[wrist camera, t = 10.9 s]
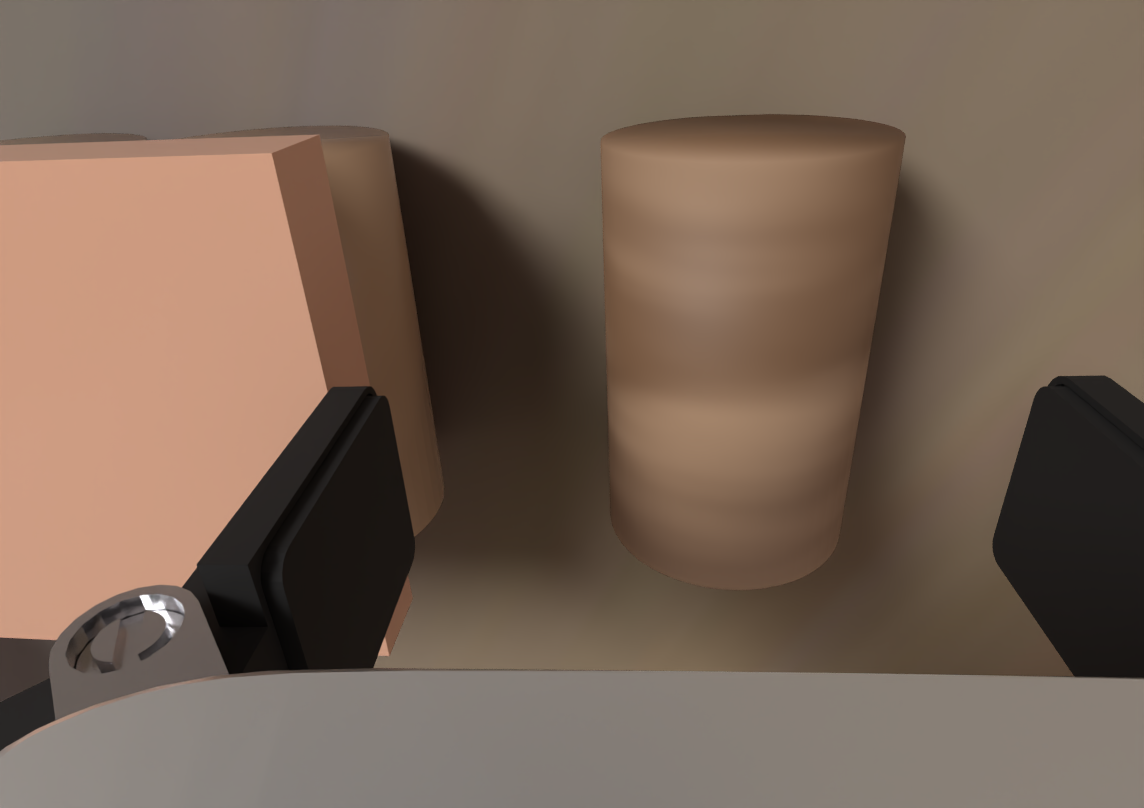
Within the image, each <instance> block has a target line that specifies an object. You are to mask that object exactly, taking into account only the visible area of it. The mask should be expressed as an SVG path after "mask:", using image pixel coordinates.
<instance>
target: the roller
mask: <svg viewBox="0 0 1144 808" xmlns="http://www.w3.org/2000/svg"><path fill="white" fill-rule="evenodd" d="M905 138H906V136H905V133H904V132H902V131H901V130H899V129H897V128H895V127H892V126H889V125H885V124H881V123H876V122H871V121H865V120H858V119H850V118H840V117H828V116H812V115H780V114H764V115H736V116H708V117H692V118H681V119H671V120H663V121H656V122H649V123H644V124H638V125H633V126H629V127H625V128H621V129H618V130H615V131H612V132H610V133H608V134H606V135H604V136H603V137H602V138H601V176H602V213H603V251H604V289H605V327H606V365H607V403H608V441H609V479H610V516H611V521H612V526H613V528H614V531H615V533H616V535H617V536H618V538H619V540H620V541H621V543H622V544H623V545H624V546H625V547H626V548H627V550H628V551H629V552H630V553H631V554H633V555H634V556H635V557H636V558H637V559H638V560H640V561H641V562H643V563H644V564H646V565H647V566H649V567H650V568H652V569H654V570H656V571H658V572H660V573H662V574H664V575H666V576H669V577H671V578H674V579H677V580H679V581H683V582H686V583H690V584H693V585H697V586H703V587H708V588H715V589H725V590H753V589H763V588H769V587H774V586H779V585H783V584H786V583H789V582H793V581H795V580H797V579H800V578H802V577H804V576H806V575H808V574H810V573H811V572H813V571H814V570H816V569H818V568H819V567H820V566H821V565H822V564H823V563H825V562H826V561H827V559H828V558H829V557H830V556H831V555H832V553H833V552H834V550H835V548H836V546H837V544H838V540H839V536H840V531H841V525H842V519H843V513H844V507H845V501H846V495H847V488H848V482H849V476H850V470H851V464H852V458H853V452H854V446H855V440H856V434H857V428H858V422H859V416H860V410H861V404H862V398H863V392H864V386H865V380H866V374H867V368H868V362H869V356H870V350H871V344H872V337H873V331H874V325H875V319H876V313H877V307H878V301H879V295H880V289H881V283H882V277H883V271H884V265H885V259H886V253H887V247H888V241H889V235H890V229H891V223H892V217H893V211H894V205H895V199H896V193H897V187H898V180H899V174H900V168H901V162H902V156H903V150H904V144H905Z"/></svg>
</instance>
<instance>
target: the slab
mask: <svg viewBox="0 0 1144 808" xmlns="http://www.w3.org/2000/svg"><path fill="white" fill-rule="evenodd" d="M353 386H371V387H372V388H374V390H375V392H376V394H377V396H384V395H385V396H386V397H387V399H388V401H389V405H390V410H391V415H392V421H393V426H394V431H395V437H396V442H397V447H398V453H399V458H400V463H401V469H402V474H403V479H404V485H405V490H406V496H407V501H408V506H409V512H410V517H411V522H412V528H413V533H414V537H415V536H416V535H417V534H418V533H420V532H421V531H422V530H423V529H424V528H425V527H426V526H427V525H428V524H429V523H430V522H431V520H432V519H433V518H434V516H435V515H436V513H437V512H438V510H439V508H440V506H441V504H442V500H443V497H444V481H443V475H442V468H441V462H440V456H439V449H438V443H437V437H436V430H435V424H434V418H433V411H432V405H431V399H430V392H429V386H428V380H427V373H426V367H425V361H424V354H423V348H422V342H421V335H420V329H419V323H418V316H417V310H416V304H415V297H414V291H413V285H412V278H411V272H410V266H409V259H408V253H407V247H406V240H405V234H404V228H403V221H402V215H401V209H400V202H399V196H398V190H397V183H396V177H395V171H394V164H393V158H392V152H391V145H390V139H389V134H388V133H387V132H385V131H383V130H379V129H375V128H368V127H357V126H299V127H280V128H266V129H254V130H243V131H234V132H224V133H216V134H208V135H201V136H193V137H187V138H180V139H172V140H147V138H146V137H144V136H140V135H134V134H118V133H99V134H73V135H57V136H43V137H32V138H21V139H11V140H1V141H0V637H2V638H23V639H44V640H57V639H58V637H59V635H60V634H61V633H62V632H63V631H64V630H65V629H66V628H67V627H68V626H69V625H70V624H71V623H72V622H73V621H74V620H75V619H76V618H78V617H79V616H80V615H82V614H83V613H85V612H86V611H88V610H89V609H91V608H92V607H93V606H95V605H97V604H99V603H101V602H103V601H105V600H107V599H109V598H111V597H113V596H115V595H117V594H120V593H124V592H127V591H130V590H133V589H136V588H140V587H147V586H154V585H172V586H179V587H181V588H182V586H183V585H184V584H185V582H186V581H187V580H188V578H189V577H190V576H191V575H192V573H193V572H194V571H195V569H196V568H197V565H196V564H197V563H198V562H199V560H200V559H201V558H202V557H203V555H204V554H205V553H206V551H207V550H208V549H209V547H210V546H211V545H212V543H213V542H214V541H215V539H216V538H217V537H218V536H219V534H220V533H221V532H222V530H223V529H224V528H225V526H226V525H227V524H228V522H229V521H230V520H231V518H232V517H233V516H234V514H235V513H236V512H237V511H238V509H239V508H240V507H241V505H242V504H243V503H244V501H245V500H246V499H247V497H248V496H249V495H250V493H251V492H252V491H253V490H254V488H255V487H256V486H257V484H258V483H259V482H260V480H261V479H262V478H263V476H264V475H265V474H266V472H267V471H268V470H269V469H270V467H271V466H272V465H273V463H274V462H275V461H276V459H277V458H278V457H279V455H280V454H281V453H282V451H283V450H284V449H285V448H286V446H287V445H288V444H289V442H290V441H291V440H292V438H293V437H294V436H295V434H296V433H297V432H298V430H299V429H300V428H301V427H302V425H303V424H304V423H305V421H306V420H307V419H308V417H309V416H310V415H311V413H312V412H313V411H314V409H315V408H316V407H317V406H318V404H319V403H320V402H321V400H322V399H323V398H324V396H325V395H326V394H327V392H328V391H329V390H330V389H331V388H332V387H353ZM412 599H413V597H412V592H411V587H410V582H409V577H408V576H407V579H406V581H405V584H404V587H403V589H402V592H401V595H400V597H399V600H398V603H397V605H396V608H395V611H394V613H393V616H392V619H391V621H390V624H389V627H388V629H387V632H386V635H385V638H384V640H383V643H382V646H381V648H380V651H379V654H378V656H390V654H391V651H392V649H393V646H394V644H395V641H396V639H397V636H398V634H399V631H400V629H401V626H402V624H403V622H404V619H405V617H406V614H407V612H408V609H409V607H410V604H411V602H412Z"/></svg>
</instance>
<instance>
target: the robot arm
mask: <svg viewBox="0 0 1144 808" xmlns="http://www.w3.org/2000/svg"><path fill="white" fill-rule="evenodd" d="M414 552H415V540H414V533H413V528H412V522H411V517H410V512H409V506H408V501H407V496H406V490H405V485H404V479H403V474H402V469H401V463H400V458H399V453H398V447H397V442H396V437H395V431H394V426H393V421H392V415H391V410H390V405H389V401H388V399H387V397H386V396H385V395H384V396H377V394H376V392H375V390H374V388H372V387H371V386H353V387H332V388H331V389H330V390H329V391H328V392H327V394H326V395H325V396H324V398H323V399H322V400H321V402H320V403H319V404H318V406H317V407H316V408H315V409H314V411H313V412H312V413H311V415H310V416H309V417H308V419H307V420H306V421H305V423H304V424H303V425H302V427H301V428H300V429H299V430H298V432H297V433H296V434H295V436H294V437H293V438H292V440H291V441H290V442H289V444H288V445H287V446H286V448H285V449H284V450H283V451H282V453H281V454H280V455H279V457H278V458H277V459H276V461H275V462H274V463H273V465H272V466H271V467H270V469H269V470H268V471H267V472H266V474H265V475H264V476H263V478H262V479H261V480H260V482H259V483H258V484H257V486H256V487H255V488H254V490H253V491H252V492H251V493H250V495H249V496H248V497H247V499H246V500H245V501H244V503H243V504H242V505H241V507H240V508H239V509H238V511H237V512H236V513H235V514H234V516H233V517H232V518H231V520H230V521H229V522H228V524H227V525H226V526H225V528H224V529H223V530H222V532H221V533H220V534H219V536H218V537H217V538H216V539H215V541H214V542H213V543H212V545H211V546H210V547H209V549H208V550H207V551H206V553H205V554H204V555H203V557H202V558H201V559H200V560H199V562H198V563H197V564H196V565H197V568H196V569H195V571H194V572H193V573H192V575H191V576H190V577H189V578H188V580H187V581H186V582H185V584H184V585H183V586H182V588H181V587H179V586H172V585H154V586H147V587H140V588H136V589H133V590H130V591H127V592H124V593H120V594H117V595H115V596H113V597H111V598H109V599H107V600H105V601H103V602H101V603H99V604H97V605H95V606H93V607H92V608H91V609H89V610H88V611H86V612H85V613H83V614H82V615H80V616H79V617H78V618H76V619H75V620H74V621H73V622H72V623H71V624H70V625H69V626H68V627H67V628H66V629H65V630H64V631H63V632H62V633H61V634H60V635H59V637H58V639H57V640H56V642H55V644H54V645H53V647H52V649H51V651H50V657H49V664H48V666H49V674H50V679H47V680H45V681H43V682H41V683H39V684H37V685H35V686H33V687H31V688H29V689H27V690H25V691H23V692H21V693H19V694H17V695H15V696H13V697H10V698H8V699H6V700H4V701H2V702H0V808H1144V403H1143V402H1141V401H1140V400H1139V399H1137V398H1136V397H1135V396H1133V395H1132V394H1131V393H1129V392H1128V391H1127V390H1125V389H1124V388H1123V387H1121V386H1120V385H1118V384H1117V383H1116V382H1114V381H1113V380H1112V379H1110V378H1108V377H1106V376H1058V377H1056V378H1054V379H1053V380H1052V381H1051V382H1050V384H1049V385H1048V387H1042V388H1040V389H1039V390H1038V392H1037V393H1036V395H1035V398H1034V401H1033V404H1032V407H1031V411H1030V414H1029V418H1028V421H1027V424H1026V428H1025V431H1024V435H1023V438H1022V441H1021V445H1020V448H1019V452H1018V455H1017V458H1016V462H1015V465H1014V469H1013V472H1012V475H1011V479H1010V482H1009V486H1008V489H1007V493H1006V496H1005V499H1004V503H1003V506H1002V510H1001V513H1000V516H999V520H998V523H997V527H996V530H995V533H994V537H993V553H994V557H995V560H996V562H997V564H998V566H999V567H1000V569H1001V570H1002V571H1003V573H1004V574H1005V576H1006V577H1007V579H1008V580H1009V582H1010V583H1011V585H1012V586H1013V587H1014V589H1015V590H1016V592H1017V593H1018V595H1019V596H1020V598H1021V599H1022V601H1023V602H1024V603H1025V605H1026V606H1027V608H1028V609H1029V611H1030V612H1031V614H1032V615H1033V617H1034V618H1035V620H1036V621H1037V622H1038V624H1039V625H1040V627H1041V628H1042V630H1043V631H1044V633H1045V634H1046V636H1047V637H1048V638H1049V640H1050V641H1051V643H1052V644H1053V646H1054V647H1055V649H1056V650H1057V652H1058V653H1059V655H1060V656H1061V657H1062V659H1063V660H1064V662H1065V663H1066V665H1067V666H1068V668H1069V669H1070V671H1071V672H1072V673H1073V675H1074V676H1075V677H1073V676H1008V675H936V674H868V673H790V672H708V671H634V670H537V669H416V668H373V667H374V664H375V662H376V659H377V656H378V654H379V651H380V648H381V646H382V643H383V640H384V638H385V635H386V632H387V629H388V627H389V624H390V621H391V619H392V616H393V613H394V611H395V608H396V605H397V603H398V600H399V597H400V595H401V592H402V589H403V587H404V584H405V581H406V579H407V576H408V573H409V570H410V568H411V565H412V562H413V559H414Z"/></svg>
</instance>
